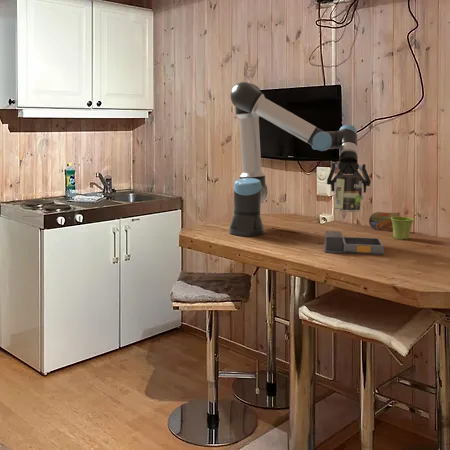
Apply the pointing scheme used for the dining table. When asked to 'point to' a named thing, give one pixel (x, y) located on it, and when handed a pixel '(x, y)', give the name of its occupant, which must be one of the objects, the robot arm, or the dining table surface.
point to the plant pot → (401, 227)
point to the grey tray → (352, 244)
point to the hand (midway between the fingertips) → (348, 197)
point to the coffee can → (348, 193)
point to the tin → (382, 221)
